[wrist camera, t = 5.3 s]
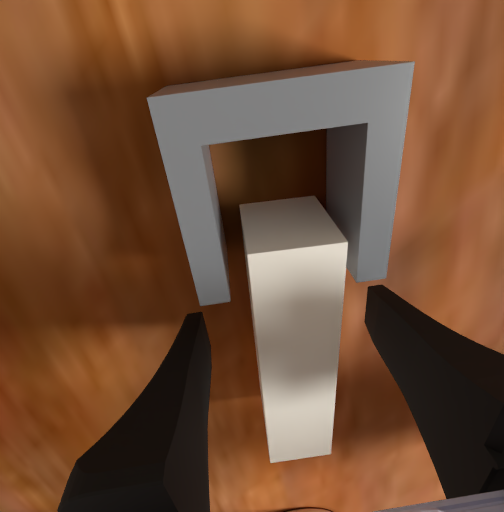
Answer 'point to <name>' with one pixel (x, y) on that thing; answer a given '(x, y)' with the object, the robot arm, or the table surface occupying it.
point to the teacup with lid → (309, 510)
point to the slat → (295, 319)
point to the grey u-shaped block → (285, 122)
